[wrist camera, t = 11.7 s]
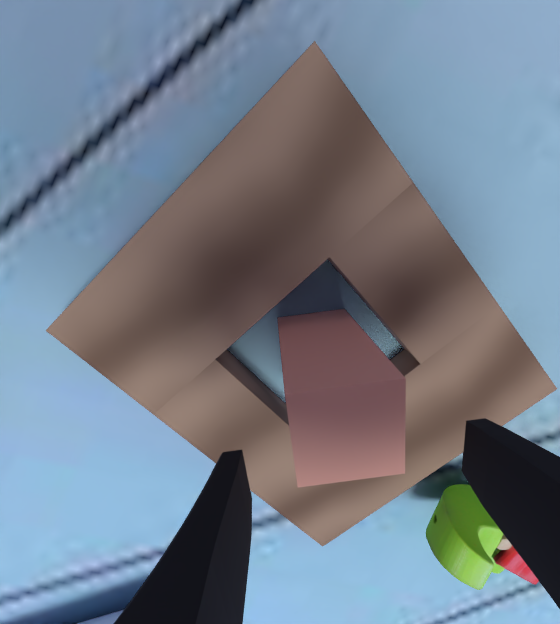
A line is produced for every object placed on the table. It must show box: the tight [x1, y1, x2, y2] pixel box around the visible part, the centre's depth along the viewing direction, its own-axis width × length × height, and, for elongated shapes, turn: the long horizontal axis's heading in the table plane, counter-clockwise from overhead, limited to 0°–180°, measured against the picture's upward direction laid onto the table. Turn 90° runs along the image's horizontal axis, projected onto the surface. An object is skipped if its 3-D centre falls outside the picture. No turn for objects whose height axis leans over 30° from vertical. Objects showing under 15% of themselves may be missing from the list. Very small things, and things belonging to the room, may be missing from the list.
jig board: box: [46, 41, 557, 546], centre depth 17 cm, size 22×18×2 cm
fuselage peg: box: [277, 309, 406, 488], centre depth 14 cm, size 4×4×8 cm
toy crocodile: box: [426, 484, 539, 590], centre depth 20 cm, size 20×7×6 cm, turn 65°
